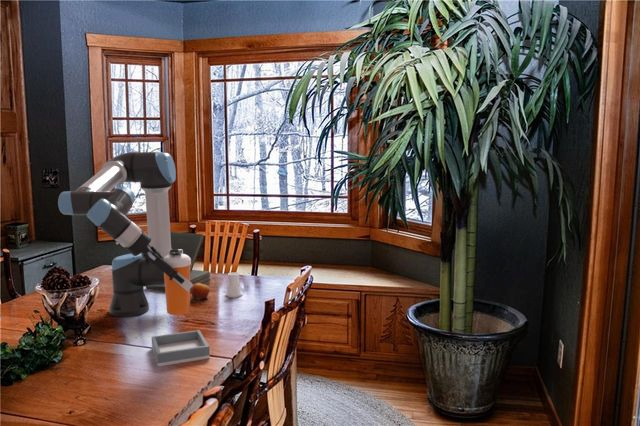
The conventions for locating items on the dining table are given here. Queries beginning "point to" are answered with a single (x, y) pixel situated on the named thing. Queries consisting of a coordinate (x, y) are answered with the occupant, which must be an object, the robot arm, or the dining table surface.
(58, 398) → the dining table surface
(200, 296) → the fruit
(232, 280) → the white cup
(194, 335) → the tray
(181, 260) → the shaker bottle
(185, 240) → the grey angled stand
